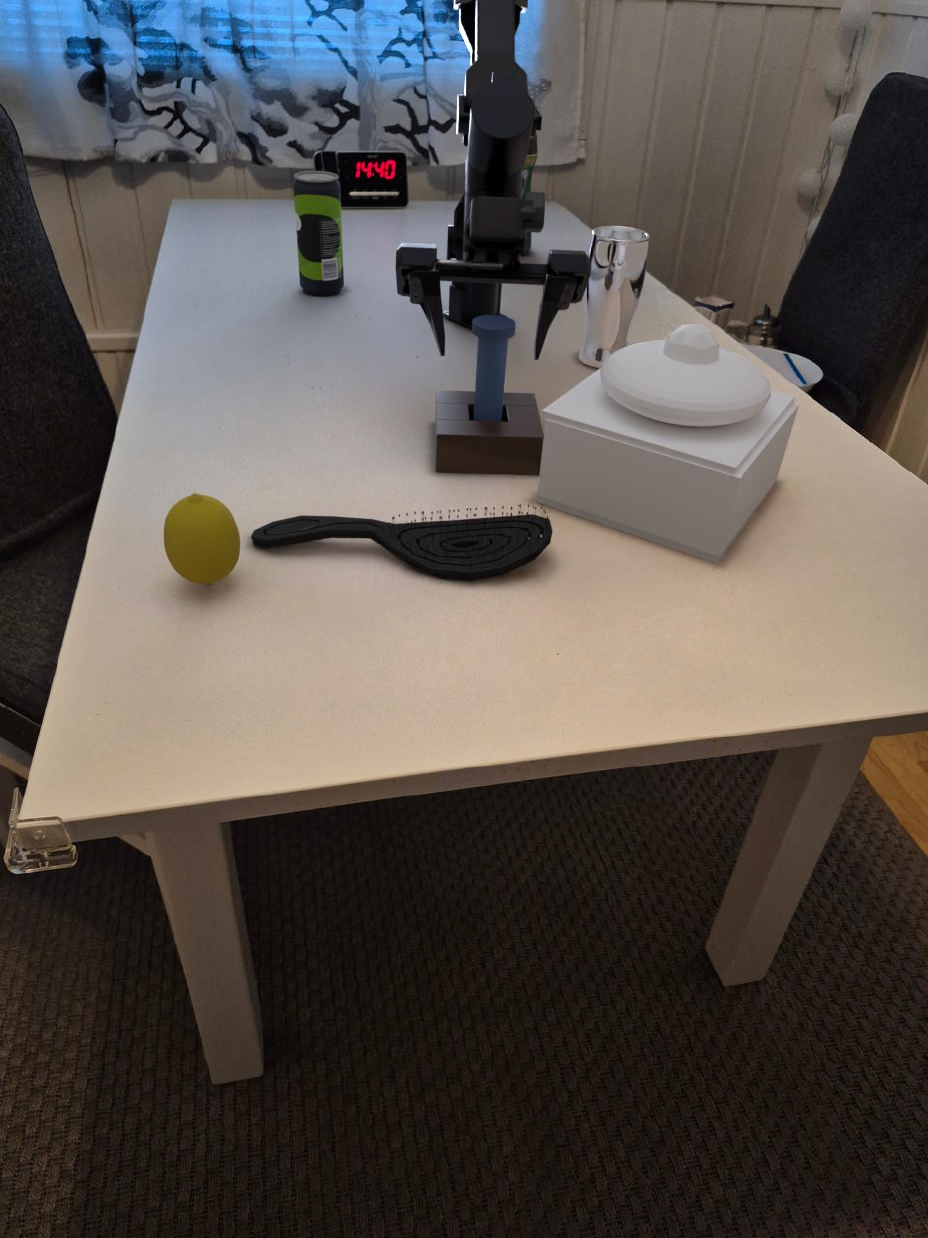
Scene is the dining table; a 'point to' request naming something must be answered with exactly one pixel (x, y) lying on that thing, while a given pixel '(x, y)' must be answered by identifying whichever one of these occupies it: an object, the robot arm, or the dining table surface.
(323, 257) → the beverage can
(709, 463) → the white lidded box
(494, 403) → the peg
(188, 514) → the lemon
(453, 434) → the stand
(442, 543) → the hairbrush
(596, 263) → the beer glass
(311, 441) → the dining table surface
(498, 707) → the dining table surface
